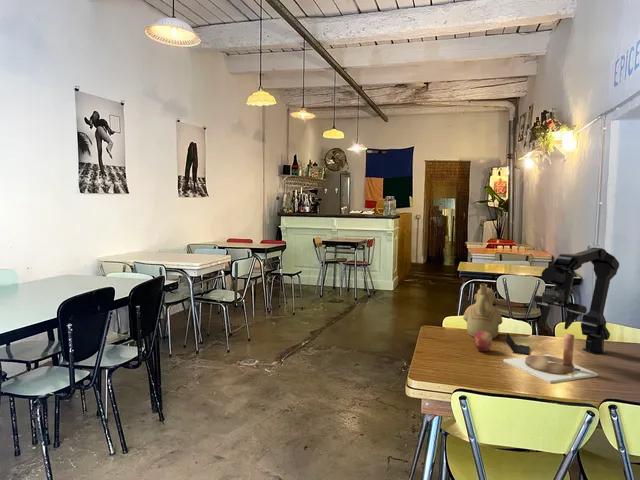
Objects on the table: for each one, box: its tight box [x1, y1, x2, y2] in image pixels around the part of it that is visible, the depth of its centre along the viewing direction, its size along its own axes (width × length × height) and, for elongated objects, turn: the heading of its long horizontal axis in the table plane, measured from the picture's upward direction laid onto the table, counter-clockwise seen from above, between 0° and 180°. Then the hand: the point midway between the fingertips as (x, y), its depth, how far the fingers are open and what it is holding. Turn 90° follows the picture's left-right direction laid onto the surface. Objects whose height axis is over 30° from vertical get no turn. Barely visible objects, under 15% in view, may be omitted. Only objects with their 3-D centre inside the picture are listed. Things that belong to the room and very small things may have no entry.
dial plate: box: [502, 353, 599, 384], centre depth 168 cm, size 22×22×1 cm
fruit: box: [472, 331, 493, 352], centre depth 187 cm, size 8×8×8 cm
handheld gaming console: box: [504, 332, 531, 356], centre depth 189 cm, size 12×7×10 cm
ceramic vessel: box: [462, 283, 503, 339], centre depth 209 cm, size 17×20×25 cm
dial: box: [525, 333, 575, 374], centre depth 167 cm, size 16×16×12 cm
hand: (554, 326), depth 176 cm, fingers open, 9 cm apart
